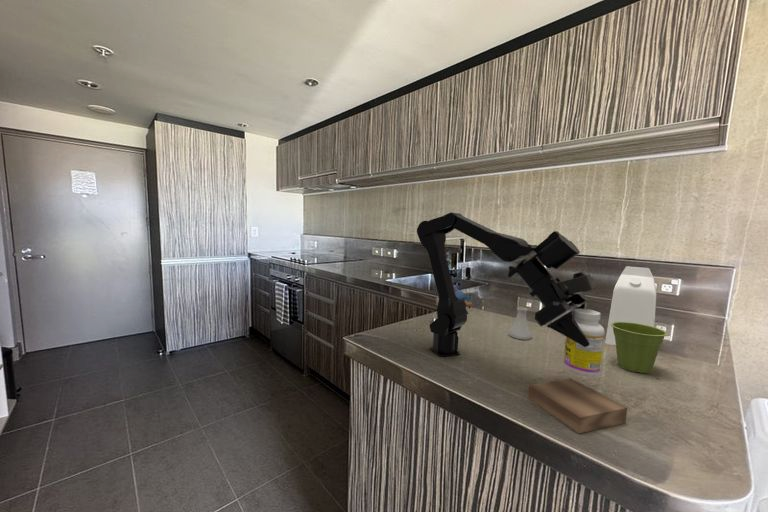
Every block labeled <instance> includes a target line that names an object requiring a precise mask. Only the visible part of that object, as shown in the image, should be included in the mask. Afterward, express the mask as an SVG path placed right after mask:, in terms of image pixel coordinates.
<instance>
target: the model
mask: <svg viewBox="0 0 768 512" xmlns="http://www.w3.org/2000/svg"><path fill="white" fill-rule="evenodd" d="M453 287H454V291H455V295H456V297H457V298H458V299H459V300H460V301H462V300H464V301H465V305H466V307H471V306H474V307H475V305H474V304H473V301H472V292H467V293H466V294H465V293H464V292H463V290H460V289H458V287H457V285H456V284H454V285H453Z"/></svg>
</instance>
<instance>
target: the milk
mask: <svg viewBox="0 0 768 512" xmlns="http://www.w3.org/2000/svg"><path fill="white" fill-rule="evenodd" d="M656 307H657V286H656V281H655V277H654V276H653V274H652V272H651V269H650V268H649V267H640V266H639V267H638V266H629V265H628V266H625V267H624V269H623V271H622V272H621V274H620V276H619V278H618V280H617V282H616V284H615V286H614V288H613V292H612V298H611V304H610V310H609V316H608V324H607V327H606V328H607V329H606V333H605V335H606V336H605V339H604V343H605V344H607V345H612V346H616V342H615V335H614V332H613V327H612V326H611V323H613V322H630V323H638V324H643V325H648V326H652V327H656V326H655V325H656V310H657V309H656Z"/></svg>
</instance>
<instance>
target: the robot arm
mask: <svg viewBox="0 0 768 512" xmlns="http://www.w3.org/2000/svg"><path fill="white" fill-rule="evenodd" d="M454 230H456V231H458V232H460V233H463V234H464V235H465V236H468V237H470V238H471V239H473V240H476V241H477V242H479V243H481V244H483V245H485V246H486V247H487V248H488V249H489V250H490V251H491V253H493V254H494V255H495V256H496V257H498V258H499V259H501V261H503V262H506V263H511V262H512V263H513V262H519V263H518V264H516V265H510V266H508V270H509V271H508V273H507V277H508V278H513V277H514V278H516V277H517V276H519V278H520V279H521V280H522V281H523V283H524V284H525V285H526V286H527V287H528V289H529V290H530V293H529V295H530V296H531V297H532V298H533V297H536V298H537V300H538V301H539V302H540V304H542V305H543V307H542V308H541V309H539V310H538V311H536V312H535V313H534V315H535V316H534V320H535V322H537V324H538V325H539V326H540V327H543V326H545V325H546V324H548V323H549V322H550V323H549V324H548V325H546V327H547V328H548V329H549V328H550V329H551V330H554V331H555V332H558V333H559V334H561V335H563V336H565V338H566V337H568V338H570V339H572V340H573V341H575V342H577V343H579V344H580V345H582V346H584V347H587V346H589V345H590V343H589V342H588V340H587V338H586V337H585V335H584V334H583V332H582V331H581V329H580V327H579V326H578V324H577V323H576V321H575V319H574V318H575V309H587V307H588V306H587V305H588V302H586V301H587V300H589V298H588V296H586V294H585V292H589V291H593V290H595V289H596V288H597V287H596V285H595V282H594V277H592V275H591V274H590V273H588V274H586V273H585V272H584V271H580V272H576V273H574V274H573V278H571V279H566V280H562V278H561V277H558V276H554V275H553V274H552V273H551V272H550V271H549V270H550V269H552V268H554V269H555V270H558V269H560V268H561V267H563V266H565V265H566V263H568V262H570V261H571V260H573V259H574V258H575V257H576V256H578V255H579V254H580V253H581V251H580V250H579V249H578V247H577V246H576V245H575V244H574V243H573V241H571V240H569V239H568V238H567V237H565V236H564V235H562V234H561V233H560V232H559V231H558V230H554V231H553V232H551V233H550V234H549V235H548V236H547V237H546V238H545V239H544V240H543V241H541V242H540V243H539V244H538V245H537V244H529V243H528V242H527V240H525V239H523V238H520V237H517V236H514V235H509V234H505V233H500V232H497V231H496V230H493V229H491V228H488V227H486V226H484V225H483V224H480V223H479V222H477V221H475V220H472V219H470V218H467V217H466V216H464V215H462V213H459V212H448V213H447V214H444V215H442V216H439V217H435V218H433V219H430V220H422V221H421V222H420V223H419V224H418V226H417V227H416V234H417V237H418V239H419V242H420V244H421V246H422V247H423V248H424V249H425V250H426V252H427V255H428V259H429V263H430V267H431V272H432V276H433V279H434V283H435V289H436V292H437V296H438V302H437V306H436V316H437V318H436V319H434V320H433V321H432V322H431V323H430V324H429V325H428V326H429V330H430V333H433V336H432V346H429V349H430V350H432V352H434V354H436V355H437V356H439V357H449V356H458V355H460V352H459V351H458V349H459V335H458V334H459V333H458V331H460V330H461V328H462V327H463V326H464V325H465V324H466V322H467V321H468V315H469V312H468V310H467V308H466V305H465V301H464V300H462V301H460V300H459V299H458V298H457V297H456V295H455V291H454V287H453V284H454V283H453V278H452V276H451V272H450V268H449V263H448V260H447V256H446V251H445V244H446V240H447V238H446V235H447V234H449V233H451V232H453V231H454ZM528 256H533V257H531V258H530V259H526V258H527V257H528ZM583 292H584V293H583Z"/></svg>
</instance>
